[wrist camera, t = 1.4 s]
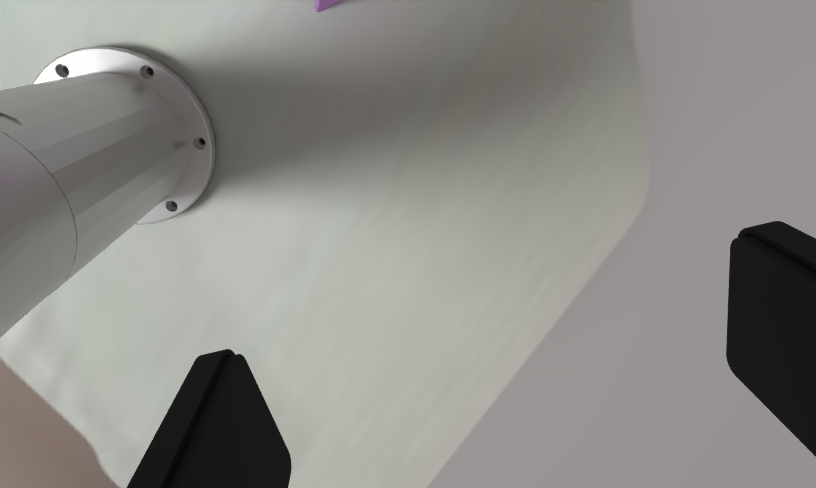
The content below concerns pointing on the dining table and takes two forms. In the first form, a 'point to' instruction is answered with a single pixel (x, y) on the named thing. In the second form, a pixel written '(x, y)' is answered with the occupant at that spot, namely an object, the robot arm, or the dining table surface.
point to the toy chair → (324, 4)
